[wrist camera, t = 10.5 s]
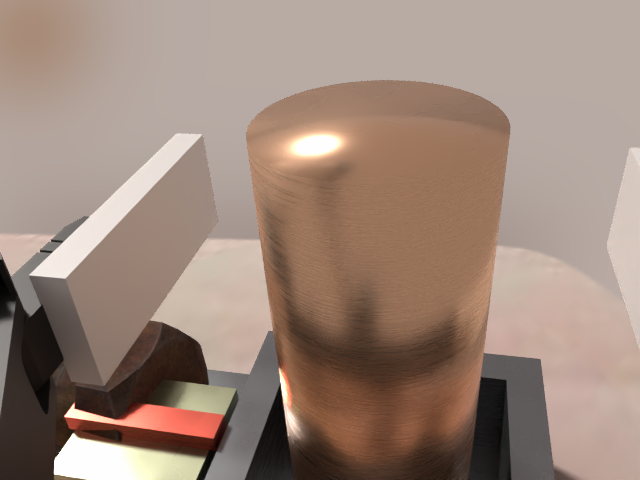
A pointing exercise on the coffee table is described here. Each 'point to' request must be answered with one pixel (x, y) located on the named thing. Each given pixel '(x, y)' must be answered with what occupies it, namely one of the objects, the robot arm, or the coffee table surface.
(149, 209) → the robot arm
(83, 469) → the grey box on baseplate
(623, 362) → the coffee table surface
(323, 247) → the pipe stub
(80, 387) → the bolt
